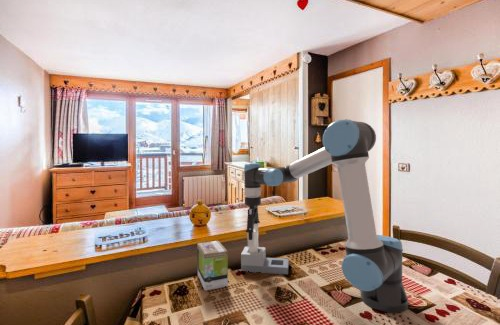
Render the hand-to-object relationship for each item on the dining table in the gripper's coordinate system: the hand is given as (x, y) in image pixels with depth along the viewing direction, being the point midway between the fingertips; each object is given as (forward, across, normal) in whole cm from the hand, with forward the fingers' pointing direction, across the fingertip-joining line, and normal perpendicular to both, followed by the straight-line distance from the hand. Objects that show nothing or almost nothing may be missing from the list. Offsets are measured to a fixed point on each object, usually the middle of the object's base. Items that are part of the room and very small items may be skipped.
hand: (253, 241), depth 124 cm
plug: (+7, 0, 0) cm, 7 cm away
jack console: (+12, 0, -6) cm, 14 cm away
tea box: (+13, -15, +15) cm, 25 cm away
